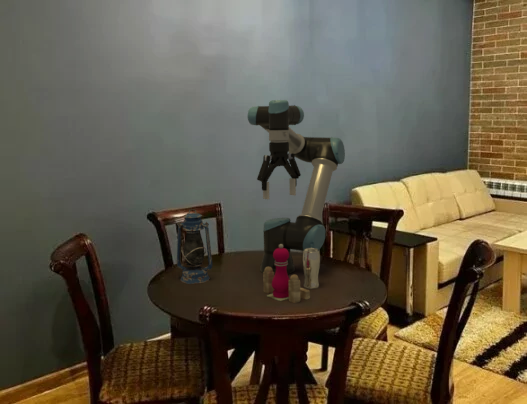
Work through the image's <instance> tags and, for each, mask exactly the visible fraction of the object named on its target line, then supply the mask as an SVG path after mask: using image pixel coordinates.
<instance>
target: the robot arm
mask: <svg viewBox="0 0 527 404" xmlns="http://www.w3.org/2000/svg"><path fill="white" fill-rule="evenodd" d="M304 118H305V112H304V110H303V108H301V106H298V105H295V104H293V105H292V104H291V105H290V104H289V101H288V100H287V99H280V100H279V99H275V100H269V102H268V105H262V106H261V105H257V106H252V107H250V108H248V111H247V121H248V123H249V124H250V125H252V126H260V127H261V128H262V129H264V131H266V132H267V133H268V140H269V143H268V148H269V152H270V155H266V154H264V155H263V158H262V159H263V161H262V162H261V163H262V164H261V166H260V169H259V173H258V175H257V178H256V180H257V181H259V182H260V183H261V191H262V198H263V199H264V200H270V181H269V179H270V178H271V176H272V174H273V172H274V171H275V169H276V168H278V167H283V168H284V169H285V170H286V172H287V173H288V175H289V177H290V178H289V179H288V180H289V196H294V197H295V196H296V195H297V193H296V191H297V189H296V187H297V184H298V183H297V182H298V181H297V179H299V178H300V177H301V176H302V174H301V171H300V170H299V166H298V164H297V162H296V159H299V160H300V161H303V162H306V163H311V164H312V167H313V169H312V171H311V177H310V179H309V183H308V187H307V192H306V196H305V198H304V202H303V206H302V210H301V213H300V214H299V215H297V216H296V218H295V222H294V221H291V218H290V217H277V218H271V219H268V220H266V221H264V223H263V255H262V261H261V264H260V272H261V273H262V274H263V272H265V271H264V270H265V268H266V267H268V266H269V267H271V268H272V269H273V272H274V275H275V273H276V265H275V262H274V261H275V259H274V257H273V253H274V251H275V250H276V249H277V248H279V245H280V244H283V248H285V249H287V250H288V252H289V258H288V259H287V261H288V265H287V267H286V270H287V274H288V275H289V274H292V273H294V272H295V270H296V269H295V263H294V260H293V257H292V254H291V253H292V252H291V250H294V251H302V252H303V249H306V248H317V249H319V250H320V249H321V248H322V247H323V244H324V243H325V239H326V228H325V226H324V223H323V221H322V216H323V215H322V214H323V211H324V206H325V203H326V200H327V195H328V192H329V187H330V183H331V179H332V176H333V172H334V171H336V170H337V169H338V167H339V166H338V165H342V164H343V163H344V161H345V157H346V152H345V151H346V150H345V145H344V142H343V140H342V139H341V138H339V137H333V136H331V137H318V136H317V137H315V136H314V137H313V136H312V137H311V136H310V137H309V136H304V135H302V134H300V133H296V131H294V130H293V129H292V128H291V127H290V126H296V125H299V124H301V123H303V120H304Z"/></svg>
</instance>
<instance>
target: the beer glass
mask: <svg viewBox="0 0 527 404" xmlns="http://www.w3.org/2000/svg"><path fill="white" fill-rule="evenodd" d="M320 254H321V253H320V249H317V248H306V249H303V251H302V260H301V261H302V268H303V269H302V270H303V273H304V274H303V275H304V282H303V287H304V289H308V290H309V289H313V290H314V289H318V288H319V287H320V284H319V273H320V266H321V255H320Z"/></svg>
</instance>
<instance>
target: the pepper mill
mask: <svg viewBox="0 0 527 404" xmlns="http://www.w3.org/2000/svg"><path fill="white" fill-rule="evenodd" d="M273 257H274V259H275V261H274V262H275V265H276V273H275V275H274V278H273V280H272V287H273V289H274V291H273V293H272V294H273V296H274V297H276V298H286V297H289V290H288V289H289V280H290V276H289V274H287V270H286V267H287V265H288V261H287V259H288V258H289V252H288V250H287V249H285V248H283V244H280V245H279V248H277V249H276V250H275V251H274V253H273Z"/></svg>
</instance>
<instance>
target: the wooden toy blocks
mask: <svg viewBox="0 0 527 404" xmlns="http://www.w3.org/2000/svg"><path fill="white" fill-rule="evenodd" d="M264 271H265V272H263V273H262V275H263V277H262V279H263V281H262V283H263V286H262V287H263V291H262V292H263V293H265V294H267V295H266V297H267V298H269V299H272V300H275V301H278V302H283V301H287V300H288V302H290V303H293V304H297V303H299V302H301V299H304V300H308V299H310V298H311V290H309V289H308V288H305V287H304V288H303V287H301V280H300V279H299V276H298V275H297V274H291V275H290V276H289V279H290V280H289V289H288V290H289V297H286V298H276V297H274V296H273V291H274V289H273V287H272V280H273V278H274V272H273V269H272V268H271V267H269V266H268V267H266V268H265V270H264Z"/></svg>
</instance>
